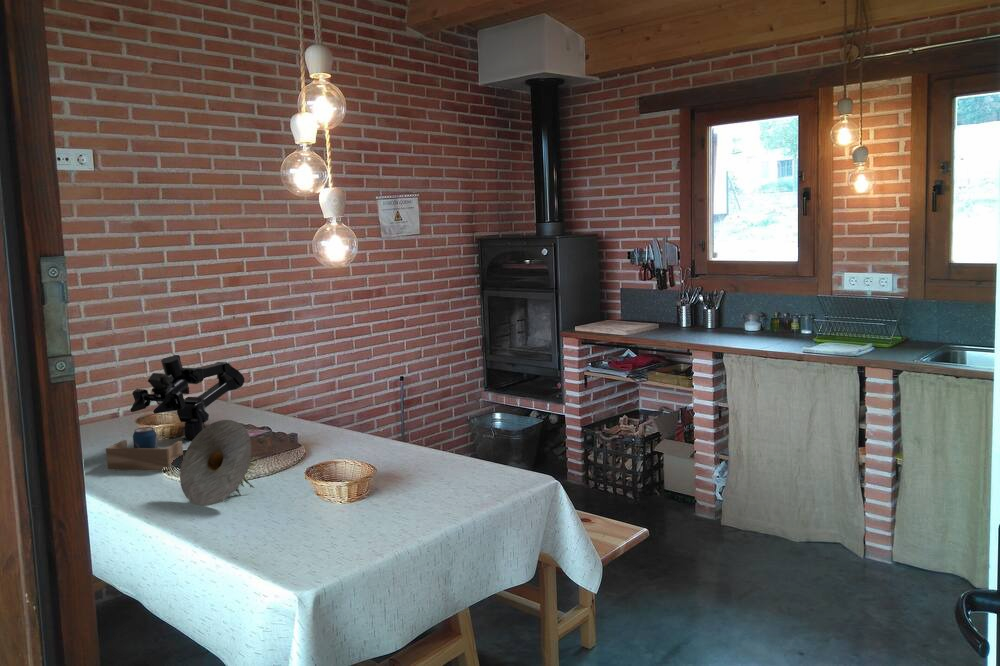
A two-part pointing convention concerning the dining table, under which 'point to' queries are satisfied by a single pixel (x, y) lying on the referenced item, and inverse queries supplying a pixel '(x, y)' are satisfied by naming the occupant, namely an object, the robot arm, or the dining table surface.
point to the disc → (216, 463)
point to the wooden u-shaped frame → (141, 457)
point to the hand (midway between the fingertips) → (142, 411)
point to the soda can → (145, 438)
